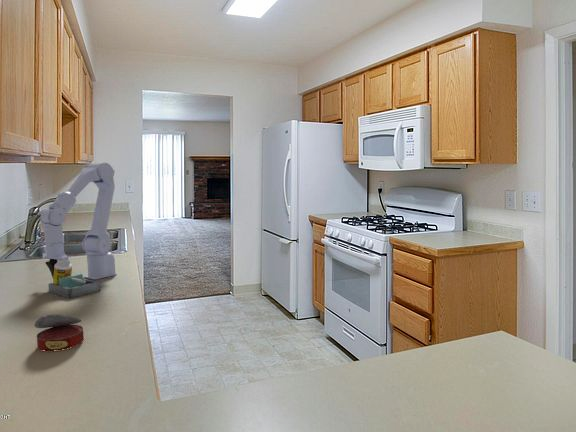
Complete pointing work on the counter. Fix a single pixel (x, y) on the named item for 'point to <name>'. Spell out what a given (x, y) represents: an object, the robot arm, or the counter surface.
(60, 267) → the supplement bottle
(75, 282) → the pusher
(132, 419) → the counter surface
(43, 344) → the canned food
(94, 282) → the grey piece
